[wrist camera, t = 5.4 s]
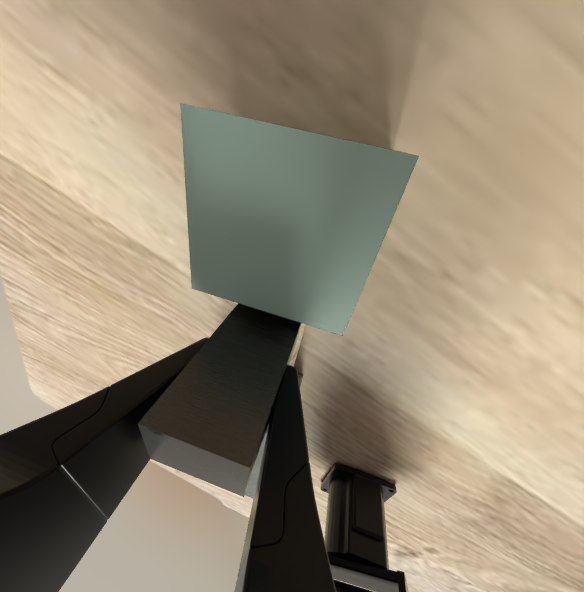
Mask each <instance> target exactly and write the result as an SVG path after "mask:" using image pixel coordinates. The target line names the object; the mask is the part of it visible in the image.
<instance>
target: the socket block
mask: <svg viewBox="0 0 584 592" xmlns="http://www.w3.org/2000/svg"><path fill="white" fill-rule="evenodd" d="M180 104H181V103H180ZM181 120H182V137H183V153H184V169H185V185H186V201H187V218H188V234H189V250H190V266H191V283H192V289H195V290H198V291H202V292H205V293H208V294H211V295H214V296H218V297H221V298H224V299H227V300H230V301H233V302H237V303H240V304H243V305H246V306H249V307H253V308H256V309H259V310H262V311H265V312H268V313H272V314H275V315H278V316H281V317H284V318H288V319H291V320H294V321H297V322H300V323H303V324H307V325H310V326H313V327H316V328H319V329H323V330H326V331H329V332H332V333H335V334H339V335H342V336H343V333H344V331H345V329H346V326H347V324H348V322H349V319H350V317H351V315H352V312H353V310H354V307H355V305H356V303H357V300H358V298H359V296H360V293H361V291H362V289H363V286H364V284H365V282H366V279H367V277H368V275H369V272H370V270H371V268H372V265H373V263H374V260H375V258H376V256H377V253H378V251H379V249H380V246H381V244H382V242H383V239H384V237H385V235H386V232H387V230H388V228H389V225H390V223H391V221H392V218H393V216H394V213H395V211H396V209H397V206H398V204H399V202H400V199H401V197H402V195H403V192H404V190H405V188H406V185H407V183H408V181H409V178H410V176H411V174H412V171H413V169H414V166H415V164H416V162H417V159H418V157H419V156H417V155H412V154H408V153H403V152H399V151H394V150H390V149H385V148H381V147H376V146H372V145H367V144H362V143H358V142H353V141H349V140H344V139H340V138H335V137H331V136H326V135H322V134H317V133H313V132H308V131H304V130H299V129H294V128H290V127H285V126H281V125H276V124H272V123H267V122H263V121H258V120H254V119H249V118H245V117H240V116H236V115H231V114H227V113H222V112H217V111H213V110H208V109H204V108H199V107H195V106H190V105H186V104H181Z"/></svg>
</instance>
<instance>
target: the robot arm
mask: <svg viewBox="0 0 584 592" xmlns="http://www.w3.org/2000/svg"><path fill="white" fill-rule="evenodd" d="M208 339H209V338H203V339H201V340H199V341H197V342H195V343H194V344H192V345H190V346H188V347H186V348H184V349H182V350H180V351H178V352H176V353H174V354H172V355H170V356H168V357H166V358H164V359H162V360H160V361H158V362H156V363H154V364H152V365H150V366H148V367H146V368H144V369H142V370H140V371H138V372H136V373H134V374H132V375H130V376H128V377H126V378H124V379H122V380H120V381H118V382H116V383H114V384H112V385H111V386H110V387H106V388H104V389H102V390H100V391H98V392H96V393H94V394H92V395H90V396H88V397H86V398H84V399H82V400H80V401H78V402H76V403H74V404H71V405H69V406H67V407H65V408H62V409H60V410H58V411H56V412H53V413H51V414H49V415H47V416H44V417H42V418H39V419H37V420H35V421H32V422H30V423H28V424H25V425H23V426H21V427H18V428H16V429H14V430H11V431H9V432H7V433H4V434H2V435H0V592H58V591H59V590H60V589H61V587H62V586H63V584H64V583H65V581H66V580H67V579H68V577H69V576H70V574H71V573H72V571H73V570H74V568H75V567H76V565H77V564H78V563H79V561H80V560H81V558H82V557H83V555H84V554H85V553H86V551H87V550H88V548H89V547H90V545H91V544H92V542H93V541H94V540H95V538H96V537H97V535H98V534H99V532H100V531H101V529H102V528H103V527H104V525H105V524H106V522H107V519H109V518H110V516H111V515H112V513H113V512H114V510H115V509H116V508H117V506H118V505H119V503H120V502H121V500H122V499H123V497H124V496H125V494H126V493H127V492H128V490H129V489H130V487H131V486H132V484H133V483H134V481H135V480H136V479H137V477H138V476H139V474H140V473H141V471H142V470H143V468H144V467H145V465H146V464H147V463H148V461H149V460H150V457H149V454H148V452H147V449H146V446H145V443H144V440H143V437H142V435H141V432H140V429H139V426H138V423H139V422H140V420H141V419H142V418H143V417H144V416H145V414H146V413H147V412H148V411H149V410H150V408H151V407H152V406H153V405H154V404H155V402H156V401H157V400H158V399H159V398H160V396H161V395H162V394H163V393H164V392H165V391H166V389H167V388H168V387H169V386H170V385H171V383H172V382H173V381H174V380H175V379H176V377H177V376H178V375H179V374H180V373H181V371H182V370H183V369H184V368H185V367H186V365H187V364H188V363H189V362H190V361H191V359H192V358H193V357H194V356H195V355H196V353H197V352H198V351H199V350H200V349H201V348H202V346H203V345H204V344H205V343H206V342H207V340H208ZM321 490H322V491H324V492H327V493H329V495H328V506H327V517H326V529H325V540H324V538H323V533H322V529H321V525H320V520H319V515H318V511H317V506H316V501H315V496H314V489H313V483H312V477H311V469H310V463H309V455H308V447H307V440H306V432H305V425H304V417H303V409H302V402H301V394H300V386H299V379H298V371H297V368H296V367H294V366H291V365H287V367H286V369H285V372H284V375H283V378H282V380H281V383H280V386H279V389H278V391H277V395H276V399H275V403H274V407H273V410H272V414H271V418H270V422H269V426H268V431H267V436H266V441H265V446H264V451H263V456H262V460H261V465H260V470H259V475H258V480H257V485H256V490H255V495H254V499H253V504H252V509H251V514H250V519H249V524H248V529H247V534H246V539H245V544H244V549H243V553H242V558H241V563H240V568H239V573H238V579H237V582H236V587H235V592H372V591H369V590H366V589H370V590H373V591H376V592H408V587H407V583H406V578H405V573H404V572H402V571H398V570H397V572H396V571H392V570H389V564H388V551H387V537H386V524H385V511H384V502H385V501H386V500H388V499H389V498H390V497H392V496H393V495H394V494H395V493H396V486H395V485H393V484H390V483H387V482H385V481H382V480H379V479H377V478H374V477H371V476H369V475H366V474H364V473H361V472H358V471H356V470H353V469H350V468H348V467H345V466H342V465H339V464H335V465H334V466H333V468H332V469H331V471H330V472H329V474H328V475H327V476H326V478H325V479H324V481H323V482H322V484H321ZM333 579H337V580H340V581H344V582H347V583H350V584H353V585H356V586H360V587H363V588H366V589H363V588H359V587H356V586H353V585H349V584H346V583H343V582H340V581H336V580H333Z"/></svg>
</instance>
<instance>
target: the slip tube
mask: <svg viewBox="0 0 584 592" xmlns="http://www.w3.org/2000/svg"><path fill="white" fill-rule="evenodd" d="M305 326H306V324H303V323H300V322H297V321H294V320H291V319H288V318H284V317H281V316H278V315H275V314H272V313H268V312H265V311H262V310H259V309H256V308H253V307H249V306H246V305H243V304H240V303H238V305H237V306H236V307H235V308H234V309H233V310H232V312H231V313H230V314H229V315H228V316H227V318H226V319H225V320H224V321H223V322H222V324H221V325H220V326H219V327H218V328H217V330H216V331H215V332H214V333H213V334H212V336H211V337H210V338H209V339H208V340H207V342H206V343H205V344H204V345H203V346H202V348H201V349H200V350H199V351H198V352H197V353H196V355H195V356H194V357H193V358H192V359H191V361H190V362H189V363H188V364H187V365H186V367H185V368H184V369H183V370H182V371H181V373H180V374H179V375H178V376H177V377H176V379H175V380H174V381H173V382H172V383H171V385H170V386H169V387H168V388H167V389H166V391H165V392H164V393H163V394H162V395H161V396H160V398H159V399H158V400H157V401H156V402H155V404H154V405H153V406H152V407H151V408H150V410H149V411H148V412H147V413H146V414H145V416H144V417H143V418H142V419H141V420H140V422H139V423H138V426H139V429H140V432H141V435H142V437H143V440H144V443H145V446H146V449H147V452H148V454H149V457H150V459H153V460H155V461H157V462H160V463H162V464H165V465H167V466H170V467H172V468H175V469H177V470H179V471H182V472H184V473H187V474H189V475H192V476H194V477H196V478H199V479H201V480H204V481H206V482H209V483H211V484H214V485H216V486H218V487H221V488H223V489H226V490H228V491H231V492H233V493H236V494H238V495H240V496H243V497H244V496H245V493H246V490H247V487H248V484H249V481H250V478H251V475H252V472H253V469H254V466H255V463H256V460H257V457H258V454H259V451H260V448H261V445H262V442H263V439H264V437H265V434H266V431H267V428H268V425H269V422H270V418H271V414H272V410H273V407H274V403H275V399H276V395H277V391H278V389H279V386H280V383H281V380H282V378H283V375H284V372H285V369H286V367H287V365H291V366H294V364H295V360H296V357H297V353H298V350H299V347H300V343H301V340H302V336H303V333H304V330H305Z"/></svg>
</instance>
